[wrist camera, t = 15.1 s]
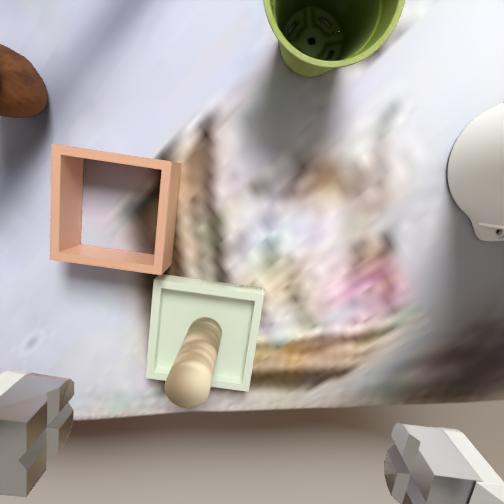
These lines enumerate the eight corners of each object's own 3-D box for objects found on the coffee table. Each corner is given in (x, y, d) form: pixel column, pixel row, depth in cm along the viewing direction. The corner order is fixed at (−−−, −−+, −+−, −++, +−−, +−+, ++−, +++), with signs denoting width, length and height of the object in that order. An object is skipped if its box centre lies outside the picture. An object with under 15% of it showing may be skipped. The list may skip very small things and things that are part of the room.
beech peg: (223, 319, 44) (212, 371, 33) (219, 349, 45) (207, 410, 34) (190, 315, 44) (166, 365, 32) (187, 345, 45) (162, 404, 33)
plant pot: (353, 104, 39) (391, 75, 28) (254, 91, 39) (254, 57, 28) (372, -9, 37) (423, -89, 26) (267, -23, 37) (273, -110, 26)
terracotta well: (181, 163, 41) (171, 161, 36) (171, 264, 44) (161, 275, 39) (75, 147, 41) (51, 143, 36) (72, 250, 43) (49, 259, 39)
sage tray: (263, 288, 44) (264, 294, 42) (248, 380, 47) (248, 391, 45) (159, 273, 44) (153, 279, 42) (151, 367, 47) (145, 378, 45)
